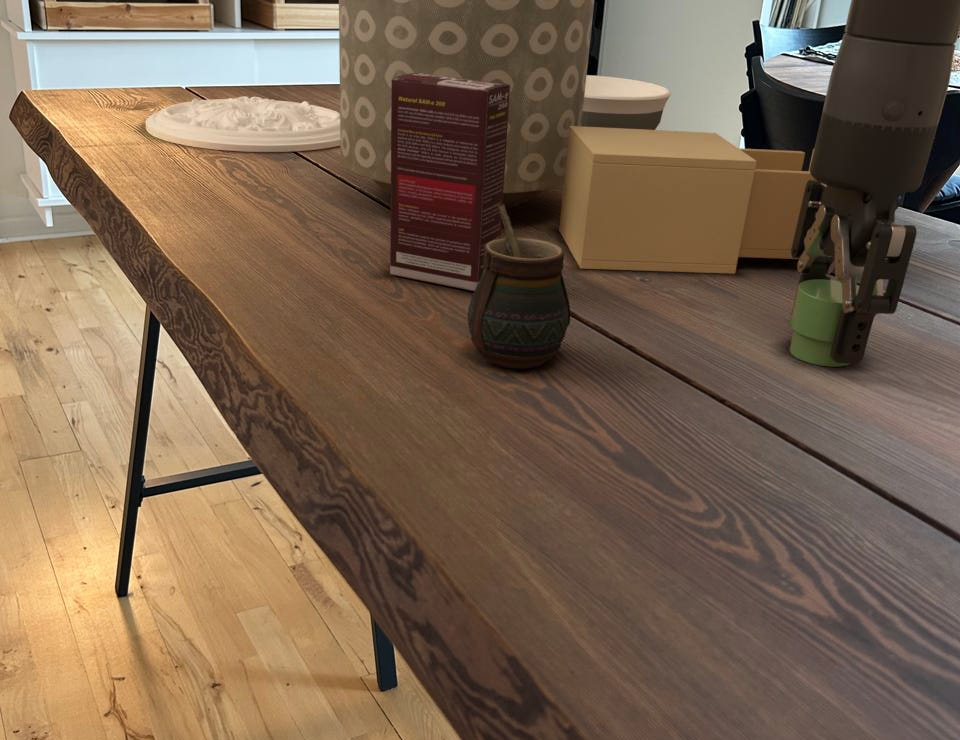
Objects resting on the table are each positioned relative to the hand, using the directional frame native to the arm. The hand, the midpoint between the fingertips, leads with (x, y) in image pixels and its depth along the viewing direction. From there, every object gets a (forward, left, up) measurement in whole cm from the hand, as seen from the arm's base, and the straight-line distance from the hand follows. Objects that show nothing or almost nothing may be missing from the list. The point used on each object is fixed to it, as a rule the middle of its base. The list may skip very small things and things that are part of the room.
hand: (823, 340), depth 78 cm
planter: (+25, -42, -1) cm, 49 cm away
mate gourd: (+24, +2, -1) cm, 24 cm away
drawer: (-6, -26, 0) cm, 27 cm away
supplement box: (+28, -16, -1) cm, 32 cm away
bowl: (+4, -74, -1) cm, 74 cm away
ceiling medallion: (+50, -77, -1) cm, 92 cm away
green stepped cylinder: (0, 0, -1) cm, 1 cm away
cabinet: (+8, -26, -1) cm, 27 cm away
